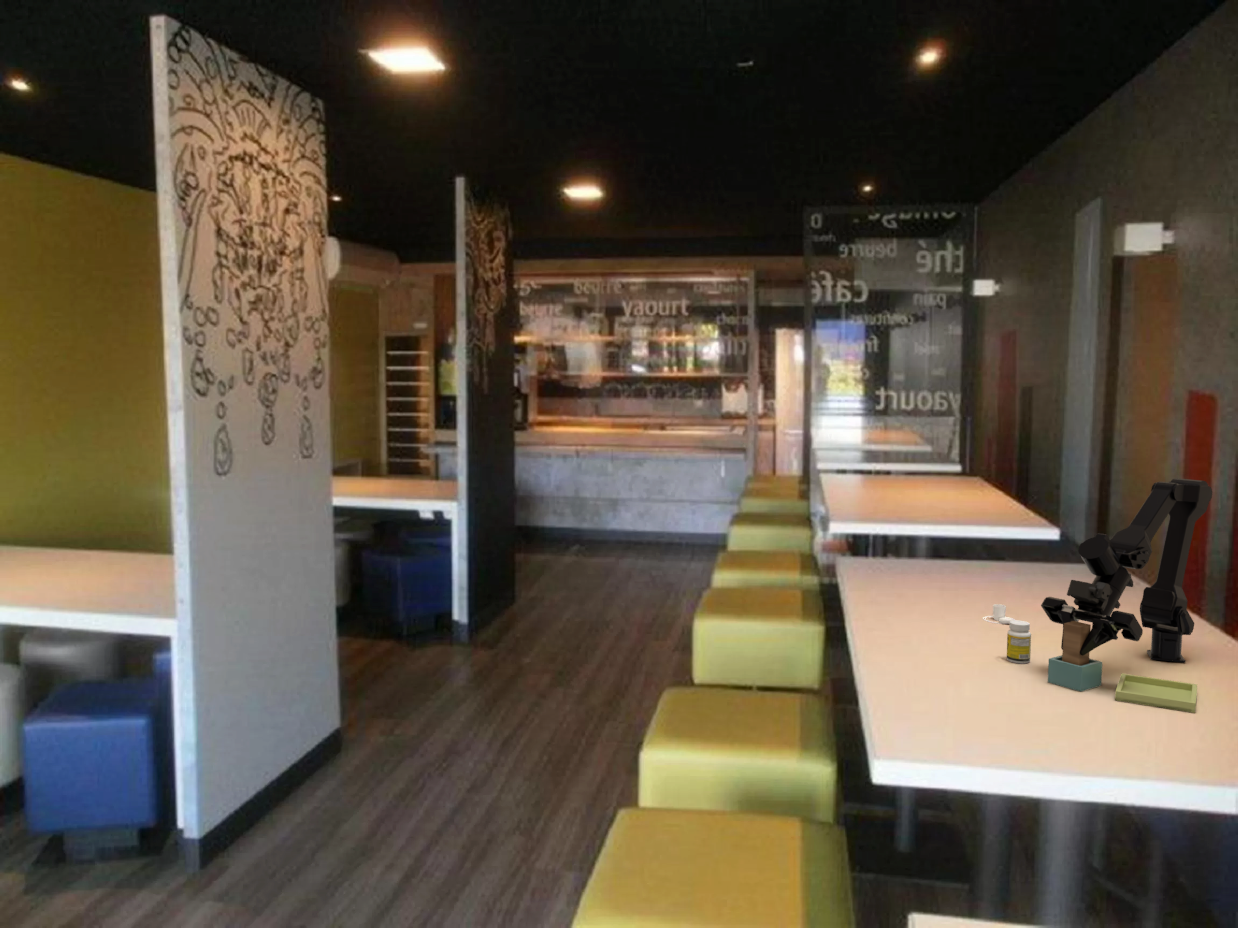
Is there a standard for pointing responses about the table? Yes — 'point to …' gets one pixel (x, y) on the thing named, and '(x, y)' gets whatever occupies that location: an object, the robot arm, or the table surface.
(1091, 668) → the teal open box
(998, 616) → the teacup and saucer
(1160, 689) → the olive tray
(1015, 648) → the supplement bottle
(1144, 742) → the table surface
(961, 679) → the table surface
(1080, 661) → the walnut stick
